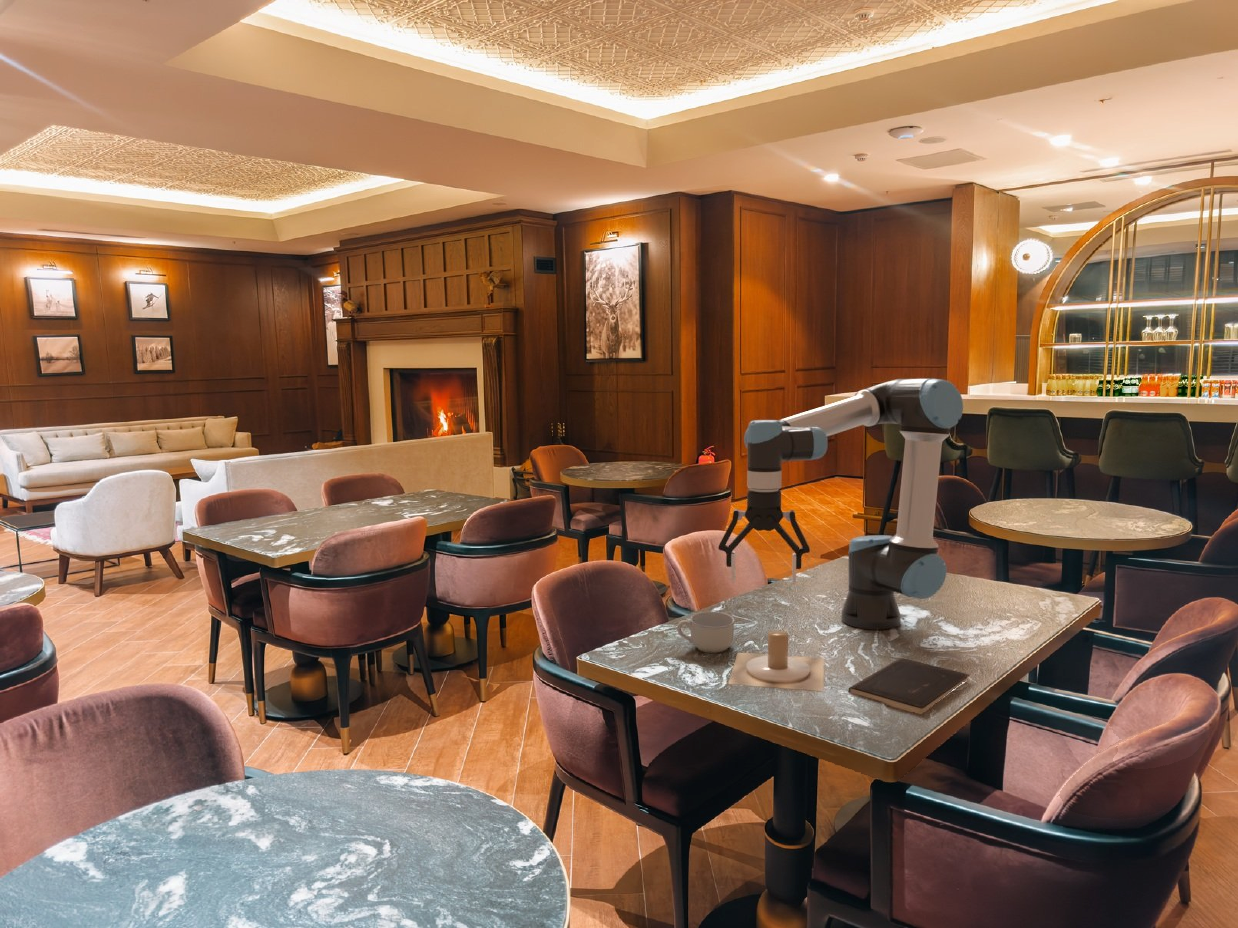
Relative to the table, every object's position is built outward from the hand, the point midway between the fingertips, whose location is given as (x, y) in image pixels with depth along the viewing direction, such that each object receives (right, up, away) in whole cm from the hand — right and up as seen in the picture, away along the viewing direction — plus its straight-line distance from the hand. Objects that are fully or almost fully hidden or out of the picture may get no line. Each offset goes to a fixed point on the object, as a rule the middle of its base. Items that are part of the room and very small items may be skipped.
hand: (763, 581), depth 187 cm
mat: (+3, -20, -2) cm, 20 cm away
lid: (+3, -20, -2) cm, 20 cm away
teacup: (-12, -19, +14) cm, 26 cm away
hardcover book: (+29, -22, -12) cm, 38 cm away
